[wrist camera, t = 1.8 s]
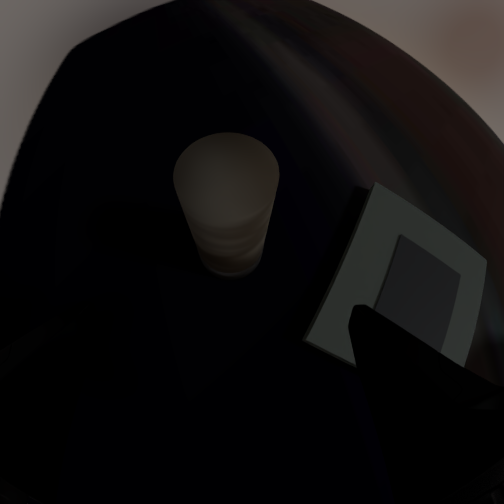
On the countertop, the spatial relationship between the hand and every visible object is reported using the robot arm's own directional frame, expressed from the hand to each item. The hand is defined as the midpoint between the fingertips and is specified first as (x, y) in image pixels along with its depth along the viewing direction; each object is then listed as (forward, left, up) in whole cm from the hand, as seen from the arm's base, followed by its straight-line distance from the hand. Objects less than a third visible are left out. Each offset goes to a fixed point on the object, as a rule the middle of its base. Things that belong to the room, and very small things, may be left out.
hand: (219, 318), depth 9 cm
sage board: (+16, -5, -13) cm, 21 cm away
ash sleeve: (+3, +6, -13) cm, 15 cm away
